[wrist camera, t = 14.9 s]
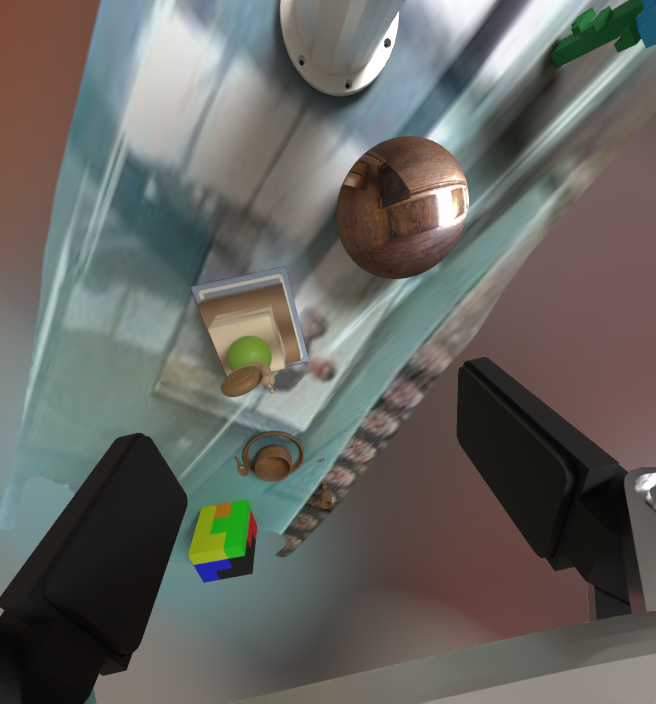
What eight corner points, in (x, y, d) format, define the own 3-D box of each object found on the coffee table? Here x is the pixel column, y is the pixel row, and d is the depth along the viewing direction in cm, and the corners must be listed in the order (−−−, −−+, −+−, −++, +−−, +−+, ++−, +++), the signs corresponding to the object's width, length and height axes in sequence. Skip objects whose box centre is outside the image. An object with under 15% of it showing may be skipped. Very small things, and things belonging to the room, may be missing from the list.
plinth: (202, 299, 44) (185, 318, 37) (282, 282, 44) (280, 297, 37) (229, 367, 49) (219, 395, 42) (300, 352, 50) (301, 377, 43)
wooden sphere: (448, 228, 44) (516, 240, 31) (362, 285, 46) (391, 318, 33) (406, 121, 37) (469, 77, 24) (308, 193, 40) (317, 190, 27)
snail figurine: (286, 354, 41) (284, 409, 30) (243, 370, 41) (227, 430, 30) (269, 320, 38) (260, 366, 28) (223, 338, 39) (198, 390, 28)
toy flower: (548, 118, 39) (725, 62, 23) (509, 60, 36) (685, -53, 20) (609, 47, 36) (857, -72, 20) (573, -23, 33) (834, -229, 17)
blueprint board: (192, 285, 44) (190, 287, 43) (285, 266, 44) (285, 267, 43) (228, 376, 51) (227, 378, 50) (308, 358, 51) (308, 361, 50)
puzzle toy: (214, 534, 70) (203, 582, 61) (201, 507, 65) (187, 555, 56) (257, 526, 70) (252, 573, 62) (247, 499, 66) (240, 545, 57)
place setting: (308, 416, 58) (309, 438, 53) (333, 482, 67) (337, 506, 62) (222, 441, 58) (215, 464, 53) (259, 503, 68) (257, 528, 62)
